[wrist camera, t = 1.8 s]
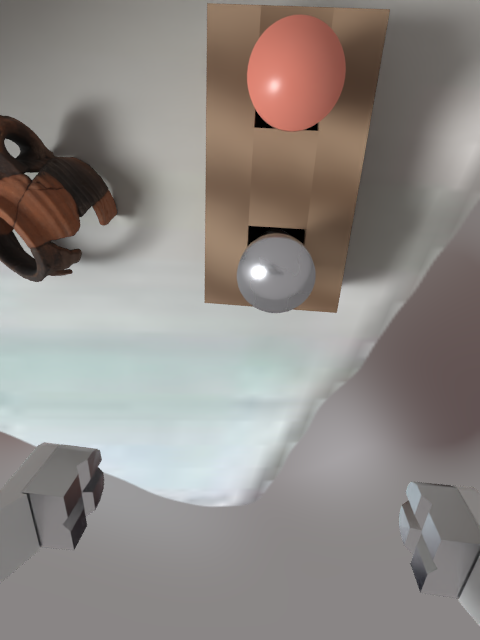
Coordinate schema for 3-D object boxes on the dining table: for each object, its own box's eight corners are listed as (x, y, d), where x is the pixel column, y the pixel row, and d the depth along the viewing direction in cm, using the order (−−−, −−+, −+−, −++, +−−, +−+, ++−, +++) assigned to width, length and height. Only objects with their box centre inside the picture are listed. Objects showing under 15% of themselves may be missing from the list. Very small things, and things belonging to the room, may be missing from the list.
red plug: (256, 50, 23) (250, 12, 16) (331, 53, 22) (354, 16, 16) (251, 134, 24) (244, 128, 18) (320, 137, 24) (337, 133, 18)
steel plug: (246, 215, 27) (238, 234, 21) (309, 219, 26) (321, 240, 20) (242, 276, 29) (235, 309, 22) (301, 280, 28) (310, 315, 22)
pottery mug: (140, 242, 33) (73, 297, 28) (75, 239, 38) (6, 285, 33) (73, 91, 26) (-35, 128, 21) (2, 110, 30) (-101, 143, 25)
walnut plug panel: (221, 34, 26) (207, 3, 20) (364, 40, 25) (390, 9, 20) (215, 278, 33) (204, 302, 28) (326, 286, 33) (336, 312, 27)
